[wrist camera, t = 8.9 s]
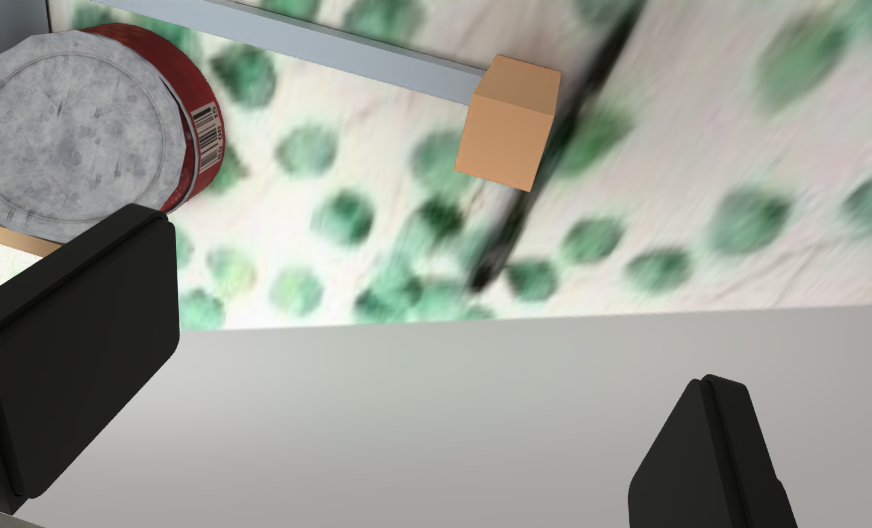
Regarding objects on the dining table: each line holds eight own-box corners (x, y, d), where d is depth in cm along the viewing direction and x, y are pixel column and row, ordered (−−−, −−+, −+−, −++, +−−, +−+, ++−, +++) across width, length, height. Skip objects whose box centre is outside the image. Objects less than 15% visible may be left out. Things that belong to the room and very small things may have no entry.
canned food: (113, 55, 37) (-71, -11, 27) (252, 44, 34) (96, -35, 24) (110, 240, 37) (-72, 238, 28) (246, 247, 34) (91, 247, 25)
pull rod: (561, 72, 27) (554, 116, 21) (484, 311, 34) (463, 394, 28) (7, -79, 29) (-141, -76, 23) (46, 179, 36) (-59, 230, 30)
